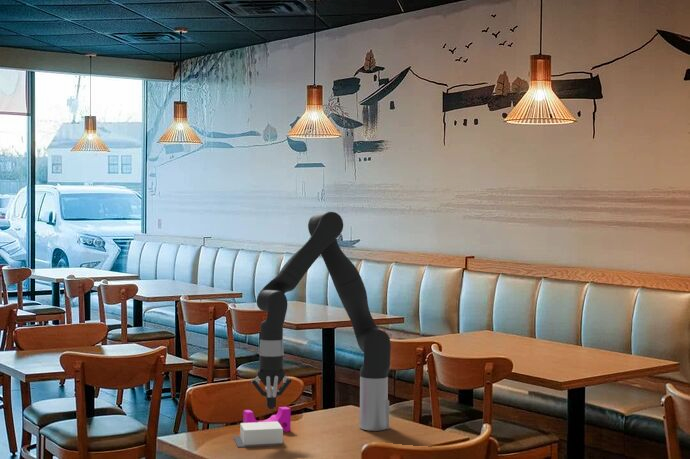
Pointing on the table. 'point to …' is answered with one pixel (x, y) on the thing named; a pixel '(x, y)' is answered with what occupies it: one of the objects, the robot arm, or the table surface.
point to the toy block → (272, 417)
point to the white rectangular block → (261, 433)
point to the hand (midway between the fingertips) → (271, 408)
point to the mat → (240, 444)
